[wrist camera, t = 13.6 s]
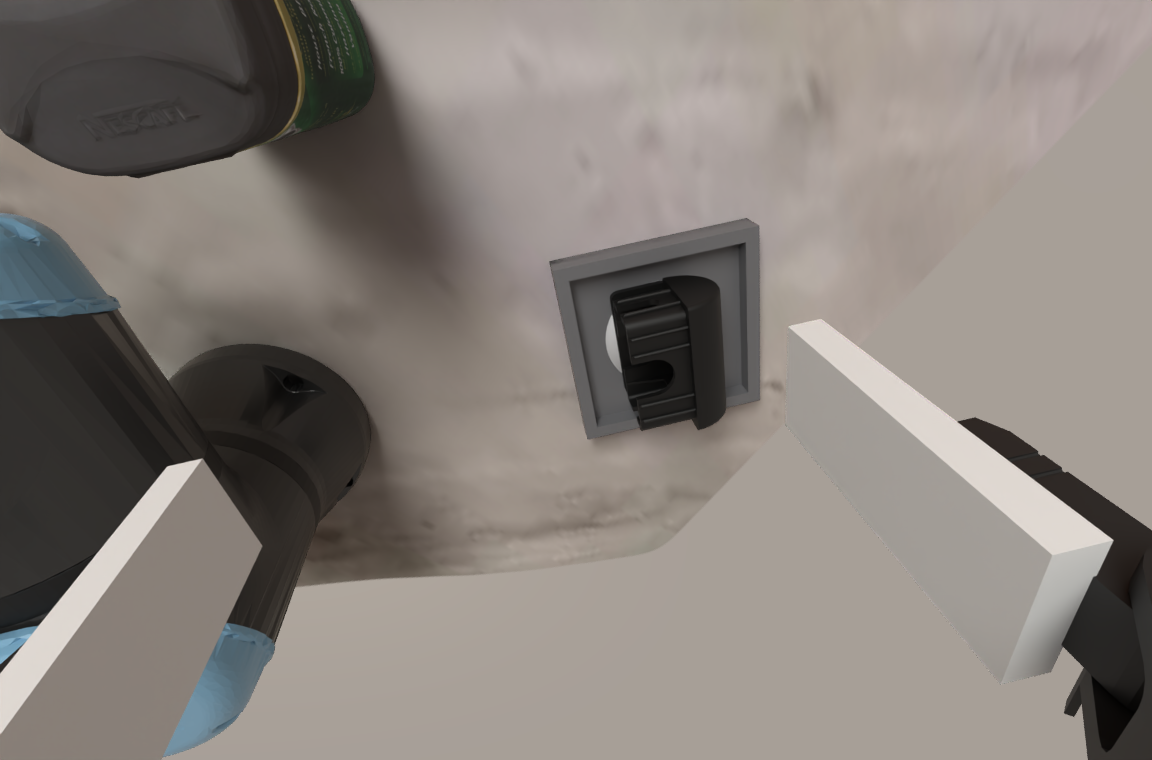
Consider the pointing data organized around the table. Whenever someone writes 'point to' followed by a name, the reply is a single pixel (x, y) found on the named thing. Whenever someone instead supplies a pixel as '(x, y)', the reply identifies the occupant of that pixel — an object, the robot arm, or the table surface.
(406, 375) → the table surface
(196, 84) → the coffee jar
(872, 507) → the robot arm
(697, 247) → the grey square tray
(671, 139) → the table surface
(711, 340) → the end cap
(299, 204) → the table surface
